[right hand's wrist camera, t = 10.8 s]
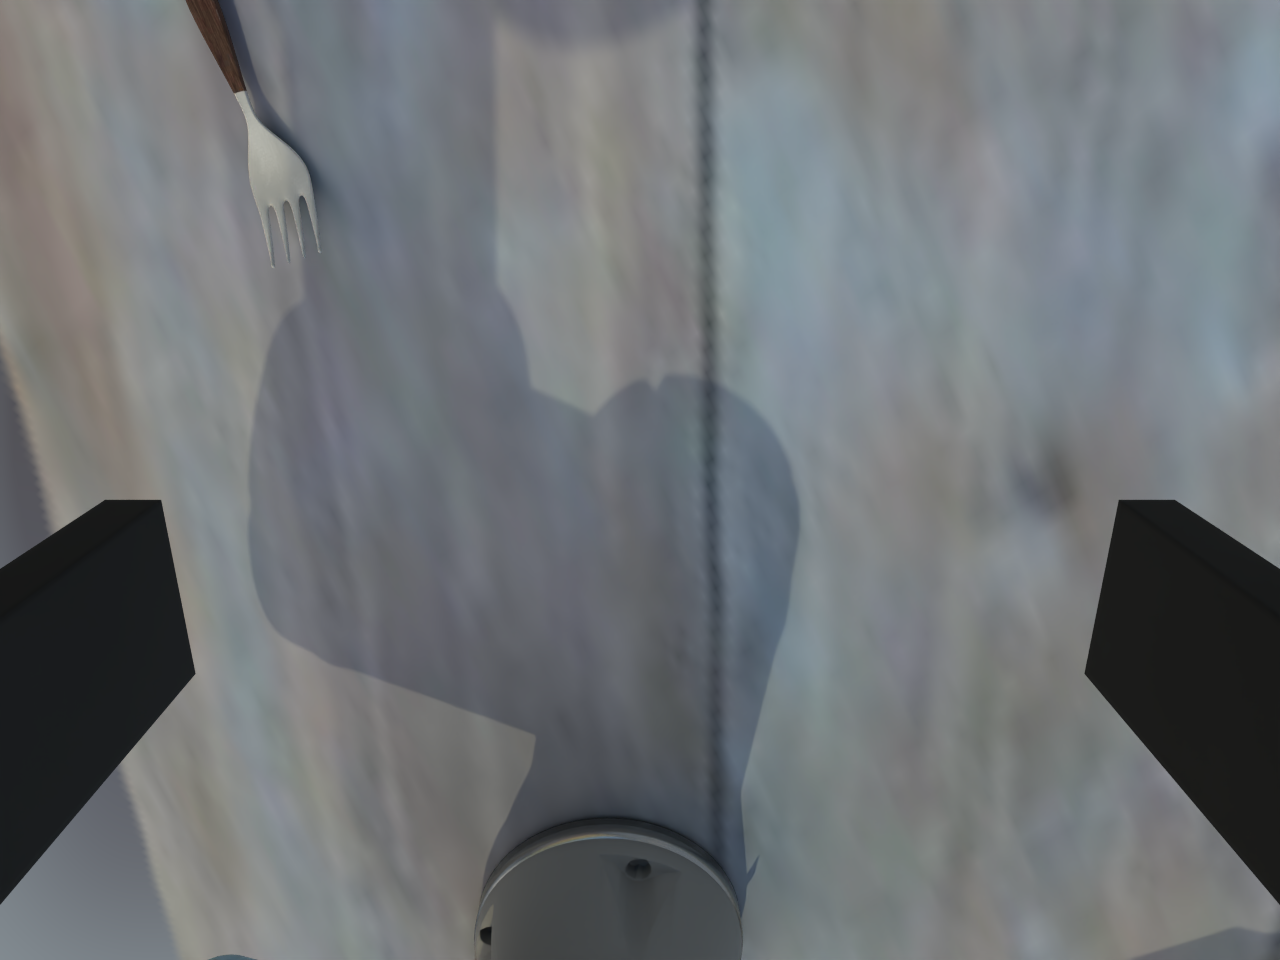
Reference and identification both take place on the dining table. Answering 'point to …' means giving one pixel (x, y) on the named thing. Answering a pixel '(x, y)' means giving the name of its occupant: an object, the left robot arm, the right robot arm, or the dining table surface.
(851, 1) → the dining table surface
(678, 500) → the dining table surface
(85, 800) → the right robot arm
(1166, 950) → the dining table surface
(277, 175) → the fork
